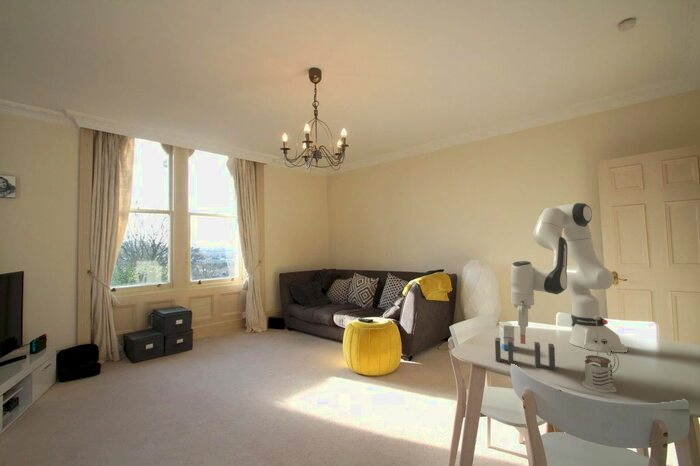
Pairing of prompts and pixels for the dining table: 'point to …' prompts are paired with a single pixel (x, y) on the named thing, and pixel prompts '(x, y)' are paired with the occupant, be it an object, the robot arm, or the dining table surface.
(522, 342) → the domino
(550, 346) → the domino
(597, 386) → the french press
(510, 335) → the ink box
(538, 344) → the domino
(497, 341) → the domino
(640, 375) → the dining table surface
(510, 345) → the domino
